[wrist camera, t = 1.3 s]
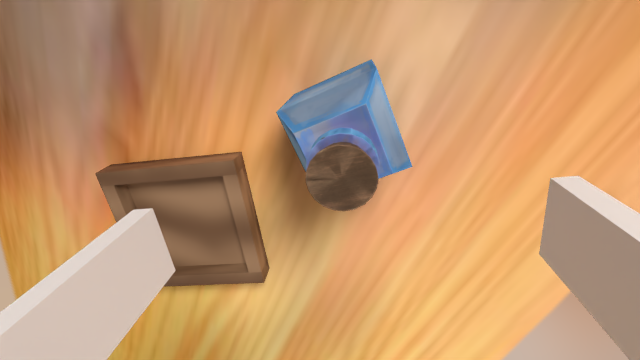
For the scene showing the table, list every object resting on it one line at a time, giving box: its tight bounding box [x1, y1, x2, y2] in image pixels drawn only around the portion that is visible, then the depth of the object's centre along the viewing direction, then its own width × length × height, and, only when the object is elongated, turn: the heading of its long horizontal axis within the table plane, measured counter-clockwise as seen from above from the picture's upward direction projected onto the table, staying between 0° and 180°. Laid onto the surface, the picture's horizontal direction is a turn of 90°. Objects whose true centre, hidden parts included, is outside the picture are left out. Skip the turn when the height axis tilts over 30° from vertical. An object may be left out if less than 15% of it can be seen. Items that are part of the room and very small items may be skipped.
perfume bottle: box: [276, 60, 412, 211], centre depth 20 cm, size 6×6×12 cm
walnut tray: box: [95, 152, 269, 286], centre depth 29 cm, size 12×12×2 cm
